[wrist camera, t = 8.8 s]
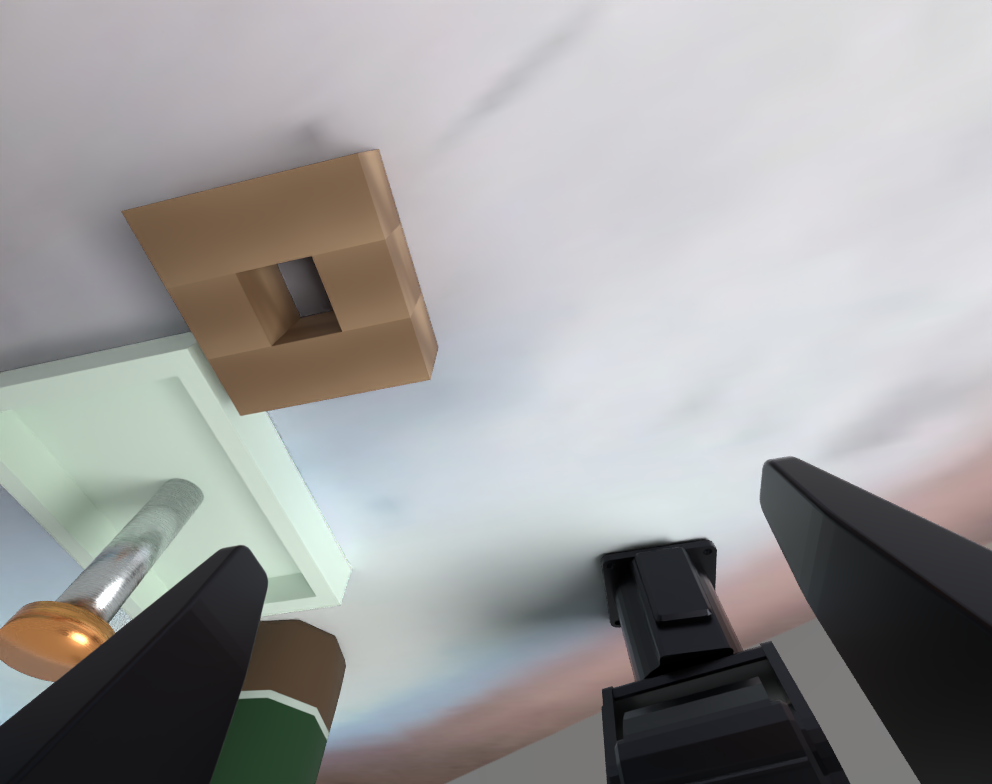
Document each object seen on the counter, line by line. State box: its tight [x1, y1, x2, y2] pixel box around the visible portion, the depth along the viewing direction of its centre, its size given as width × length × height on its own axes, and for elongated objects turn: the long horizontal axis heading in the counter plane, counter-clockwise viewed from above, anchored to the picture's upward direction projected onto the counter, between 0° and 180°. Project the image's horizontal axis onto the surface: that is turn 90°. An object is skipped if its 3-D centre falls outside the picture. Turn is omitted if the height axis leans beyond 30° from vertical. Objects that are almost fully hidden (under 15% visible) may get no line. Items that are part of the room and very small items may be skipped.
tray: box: [0, 332, 352, 619], centre depth 23 cm, size 16×12×2 cm
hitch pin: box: [0, 478, 204, 682], centre depth 20 cm, size 3×3×8 cm
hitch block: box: [121, 149, 438, 416], centre depth 18 cm, size 8×8×3 cm
